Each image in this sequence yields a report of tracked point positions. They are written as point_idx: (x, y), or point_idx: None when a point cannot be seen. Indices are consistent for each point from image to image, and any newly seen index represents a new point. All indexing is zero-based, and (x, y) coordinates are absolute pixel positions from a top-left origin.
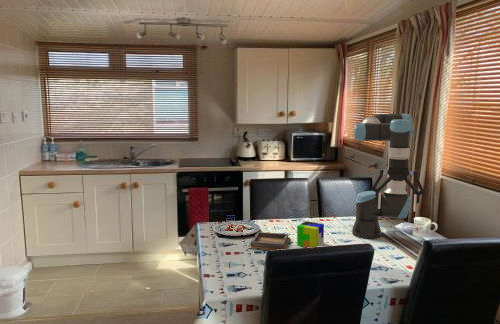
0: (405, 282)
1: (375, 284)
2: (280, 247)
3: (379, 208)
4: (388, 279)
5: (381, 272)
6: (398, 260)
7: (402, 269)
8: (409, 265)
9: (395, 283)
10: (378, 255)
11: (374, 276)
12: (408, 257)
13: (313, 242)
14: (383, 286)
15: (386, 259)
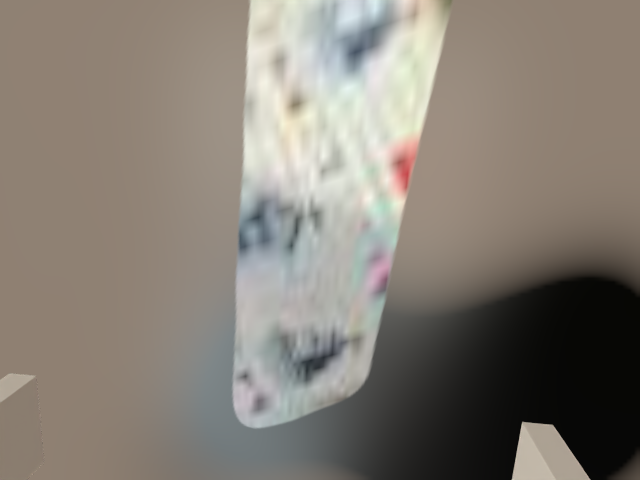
0: (370, 358)
1: (247, 406)
2: None
3: (34, 463)
4: (300, 346)
5: (269, 279)
6: (359, 89)
7: (370, 215)
8: (412, 148)
9: (328, 378)
10: (250, 40)
11: (240, 331)
12: (422, 17)
13: None
14: (279, 416)
15: (294, 93)
